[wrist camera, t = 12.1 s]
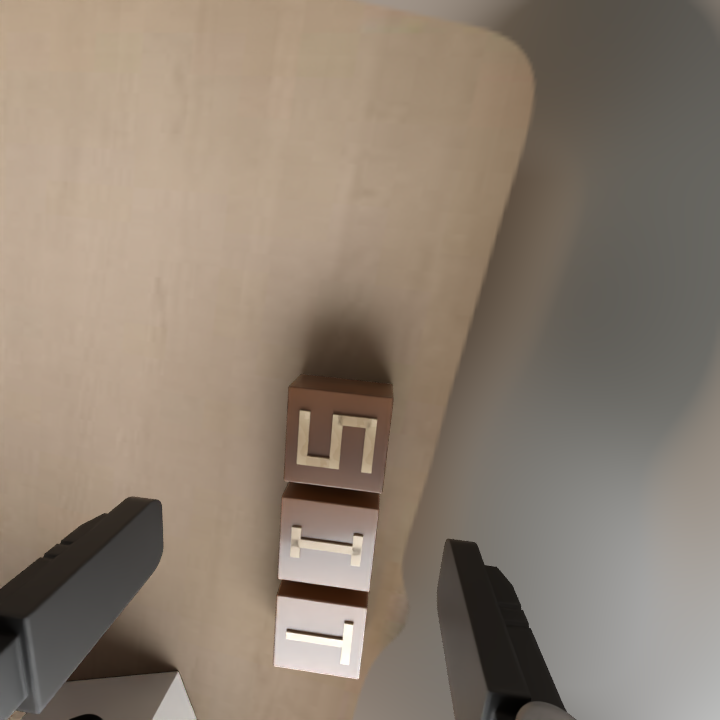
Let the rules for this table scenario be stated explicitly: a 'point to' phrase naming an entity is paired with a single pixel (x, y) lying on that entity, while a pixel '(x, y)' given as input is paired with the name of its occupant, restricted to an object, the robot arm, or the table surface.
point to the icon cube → (120, 699)
